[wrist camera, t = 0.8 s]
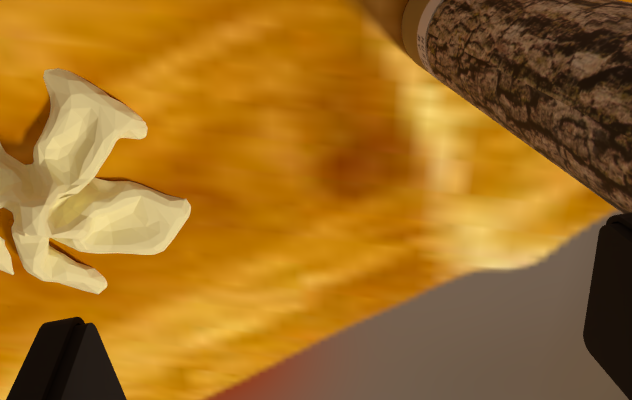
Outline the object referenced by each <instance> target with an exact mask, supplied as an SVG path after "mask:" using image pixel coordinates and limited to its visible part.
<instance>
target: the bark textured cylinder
mask: <svg viewBox="0 0 632 400" xmlns="http://www.w3.org/2000/svg"><path fill="white" fill-rule="evenodd" d="M401 33H402V40H403V43H404V46H405V49H406V51H407V53H408V54H409V56H410V57H411V58H412V60H413V61H414V62H415V63H416V64H418V65H419V66H420V67H422V68H423V69H424V70H426V71H427V72H429V73H430V74H431V75H432V76H434V77H435V78H436V79H438V80H439V81H440V82H442V83H443V84H445V85H446V86H447V87H449V88H450V89H452V90H453V91H454V92H456V93H457V94H458V95H460V96H461V97H463V98H464V99H465V100H467V101H468V102H470V103H471V104H472V105H474V106H475V107H476V108H478V109H479V110H481V111H482V112H483V113H485V114H486V115H488V116H489V117H490V118H492V119H493V120H494V121H496V122H497V123H499V124H500V125H501V126H503V127H504V128H506V129H507V130H508V131H510V132H511V133H512V134H514V135H515V136H517V137H518V138H519V139H521V140H522V141H524V142H525V143H526V144H528V145H529V146H530V147H532V148H533V149H535V150H536V151H537V152H539V153H540V154H542V155H543V156H544V157H546V158H547V159H549V160H550V161H551V162H553V163H554V164H555V165H557V166H558V167H560V168H561V169H562V170H564V171H565V172H567V173H568V174H569V175H571V176H572V177H573V178H575V179H576V180H578V181H579V182H580V183H582V184H583V185H585V186H586V187H587V188H589V189H590V190H591V191H593V192H594V193H596V194H597V195H598V196H600V197H601V198H603V199H604V200H605V201H607V202H608V203H609V204H611V205H612V206H614V207H615V208H616V209H618V210H619V211H621V212H622V213H623V214H625V213H630V212H632V3H628V2H623V1H618V0H409V1H408V3H407V5H406V8H405V10H404V13H403V18H402V24H401Z"/></svg>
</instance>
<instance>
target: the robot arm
mask: <svg viewBox="0 0 632 400" xmlns="http://www.w3.org/2000/svg"><path fill="white" fill-rule="evenodd" d="M583 337H584V342H585V345H586V347H587V349H588V351H589V352H590V354H591V355H592V356H593V357H594V358H595V360H596V361H597V362H598V363H599V364H600V366H601V367H602V368H603V369H604V370H605V371H606V373H607V374H608V375H609V376H610V377H611V378H612V380H613V381H614V382H615V383H616V385H617V386H618V387H619V388H620V389H621V390H622V392H623V393H624V394H625V395H626V396H627V397H628V399H629V400H632V212H630V213H625V214H620V215H614V216H612V217H610V218H609V219H608V220H607V223H606V225H604V226H602V228H601V229H600V231H599V236H598V242H597V249H596V255H595V262H594V268H593V274H592V280H591V287H590V293H589V299H588V307H587V312H586V319H585V325H584V331H583ZM6 400H127V399H126V397H125V395H124V392H123V390H122V388H121V385H120V383H119V380H118V378H117V376H116V373H115V371H114V369H113V366H112V364H111V362H110V359H109V357H108V354H107V352H106V350H105V347H104V345H103V343H102V340H101V338H100V335H99V333H98V331H97V328H96V327H95V325H94V324H93V323H87V324H85V323H84V321H83V320H82V319H81V318H80V317H73V318H68V319H63V320H58V321H52V322H47V323H44V324H43V325H42V326H41V327H40V329H39V331H38V333H37V335H36V337H35V339H34V342H33V344H32V346H31V348H30V350H29V352H28V354H27V356H26V359H25V361H24V363H23V365H22V367H21V369H20V371H19V373H18V376H17V378H16V380H15V382H14V384H13V386H12V388H11V390H10V393H9V395H8V397H7V399H6Z"/></svg>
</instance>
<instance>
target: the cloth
mask: <svg viewBox="0 0 632 400" xmlns="http://www.w3.org/2000/svg"><path fill="white" fill-rule="evenodd" d="M43 78H44V81H45V84H46V87H47V90H48V93H49V96H50V103H51V108H50V115H49V118H48V120H47V123H46V125H45V127H44V130H43V132H42V134H41V136H40V137H39V139H38V141H37V143H36V145H35V146H34V151H33V159H34V162H33V163H32V164H28V165H24V164H23V163H21V162H20V161H18V160H16V159H15V158H13V157H12V156H10V155H8V154H7V153H6V152H5V150H4V149H3V147H2V145H1V143H0V209H1V208H3V207H4V208H6V209H7V210H9V211H11V212H12V213H13V217H14V223H13V225H12V228H11V229H12V236H13V239H14V242H15V245H16V249H17V252H18V254H19V257H20V259H21V262H22V264H23V267H24V268H25V269H26V271H27V272H28V273H30V274H32V275H33V276H35V277H37V278H38V279H40V280H42V281H48V282H59V283H61V284H64V285H67V286H71V287H74V288H77V289H80V290H83V291H88V292H92V293H95V294H99V293H100V292H101V291H103V290H104V289H105V288H106V287H107V282H106V280H105V278H104V277H103V276H102V275H101V274H100V273H99V272H98V271H97V270H96V269H94V268H92V267H90V266H87V265H84V264H80V263H77V262H75V261H74V260H72V259H71V258H69V257H68V256H66V255H65V254H63V253H61V252H59V251H57V250H56V249H54V248H53V247H52V246H50V245H49V238H53V239H54V240H56V241H59V242H61V243H63V244H65V245H67V246H69V247H72V248H74V249H76V250H78V251H80V252H88V253H96V254H101V253H126V254H140V255H154V254H157V253H159V252H162V251H164V250H165V249H166V248H167V246H168V245H169V244H170V243H171V241H172V240H173V239H174V238H175V236H176V235H177V233H178V232H179V230H180V229H181V227H182V226H183V225H184V223H185V222H186V220H187V219H188V217H189V215H190V211H191V205H190V204H189V203H188V201H187V200H186V199H182V198H178V197H174V196H170V195H165V194H163V193H161V192H158V191H156V190H153V189H151V188H148V187H146V186H143V185H141V184H138V183H134V182H131V181H106V180H102V179H98V178H95V176H96V174H97V172H98V171H99V169H100V168H101V166H102V164H103V163H104V161H105V160H106V158H107V157H108V155H109V154H110V152H111V150H112V149H113V147H114V145H115V143H116V141H117V140H118V139H119V138H133V139H142V138H144V137H146V135H147V126H146V123H145V122H144V121H143V120H142V118H141V117H140V116H139V115H138V114H137V113H136V112H134V111H133V110H132V109H131V108H129V107H128V106H126V105H125V104H123V103H121V102H119V101H117V100H115V99H113V98H111V97H109V96H108V95H107V94H106V93H105V92H104V91H103V90H101V89H99V88H98V87H96V86H95V85H93V84H91V83H90V82H88V81H87V80H85V79H83V78H82V77H80V76H78V75H76V74H74V73H72V72H70V71H66V70H62V69H59V68H57V69H51V70H45V72H44V77H43ZM89 182H90V183H89ZM88 183H89V185H87V184H88ZM4 244H5V240H3V239H2V238H1V237H0V270H2V271H5V272H7V273H10V274H12V275H13V274H14V272H13V268H12V262H11V256H10V254H9V252H8V250H7V248H6V247H5V245H4Z"/></svg>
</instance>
